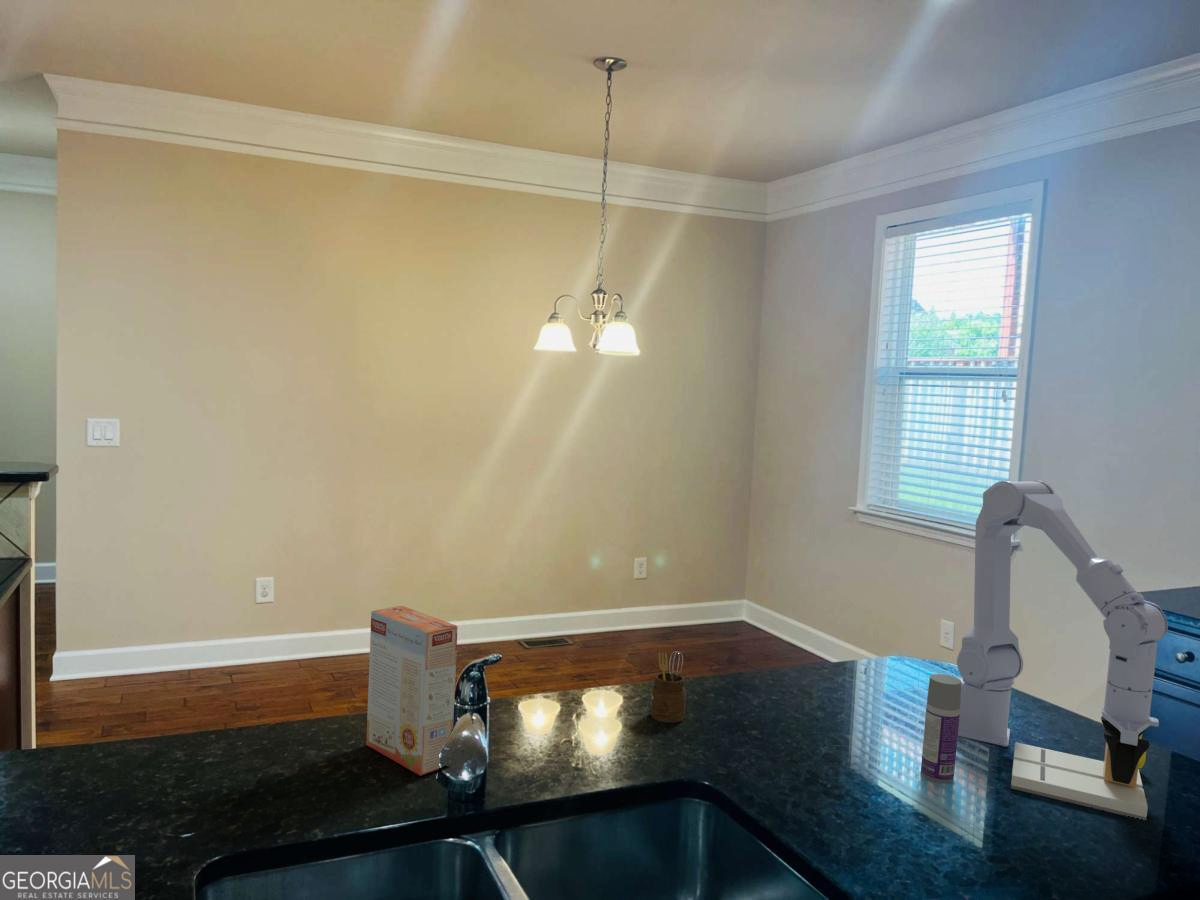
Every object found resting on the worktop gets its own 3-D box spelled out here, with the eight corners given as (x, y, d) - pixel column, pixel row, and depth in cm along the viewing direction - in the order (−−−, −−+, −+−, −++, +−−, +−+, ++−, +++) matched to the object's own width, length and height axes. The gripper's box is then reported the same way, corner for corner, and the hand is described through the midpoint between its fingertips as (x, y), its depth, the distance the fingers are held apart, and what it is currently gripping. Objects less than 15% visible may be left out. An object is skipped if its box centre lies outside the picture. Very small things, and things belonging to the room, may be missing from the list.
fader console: (1010, 788, 127) (1012, 774, 127) (1014, 754, 139) (1015, 741, 139) (1146, 820, 119) (1147, 806, 119) (1137, 781, 131) (1138, 768, 131)
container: (952, 772, 131) (961, 676, 130) (954, 785, 127) (963, 686, 125) (920, 766, 133) (928, 671, 131) (920, 779, 128) (929, 681, 127)
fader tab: (1102, 790, 126) (1107, 747, 126) (1101, 782, 129) (1106, 739, 128) (1134, 797, 124) (1139, 753, 124) (1133, 789, 127) (1137, 746, 126)
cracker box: (454, 766, 124) (460, 624, 123) (419, 778, 120) (425, 631, 118) (398, 735, 134) (403, 603, 132) (364, 745, 129) (369, 609, 128)
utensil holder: (690, 716, 148) (695, 648, 147) (673, 727, 143) (678, 657, 142) (660, 707, 151) (664, 640, 150) (642, 718, 146) (646, 649, 145)
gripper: (1167, 706, 117) (1157, 802, 118) (1156, 676, 130) (1146, 763, 131) (1108, 695, 120) (1098, 788, 121) (1102, 667, 133) (1093, 752, 134)
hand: (1119, 775), depth 126 cm, fingers open, 4 cm apart
